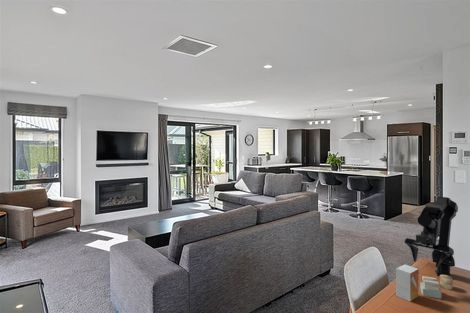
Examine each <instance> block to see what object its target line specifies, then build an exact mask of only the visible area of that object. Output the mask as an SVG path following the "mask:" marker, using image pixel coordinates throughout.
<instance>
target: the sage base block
mask: <svg viewBox="0 0 470 313" xmlns="http://www.w3.org/2000/svg"><path fill="white" fill-rule="evenodd" d="M419 286H420V287H419V288H420V292H421V294H422V296H424V297H429V298H434V299H440V300H442V291H441V287H439V291H436V290H430V289H425V288H424V286H423V283H422V282H421V281H420V283H419Z"/></svg>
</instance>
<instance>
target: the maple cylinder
mask: <svg viewBox="0 0 470 313" xmlns="http://www.w3.org/2000/svg"><path fill="white" fill-rule="evenodd" d="M453 280H454V279H453V276H452V277H450V276H447V275H440V276H439V288H440V289H441V288H442V289H444V290H449V291H450V290H453V289H454V288H453V285H454V284H453Z"/></svg>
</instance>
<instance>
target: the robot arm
mask: <svg viewBox="0 0 470 313" xmlns="http://www.w3.org/2000/svg"><path fill="white" fill-rule="evenodd" d="M458 211H459V206H458V204H457V203H456V202H455V201H453V200H452V199H451V198H450V197H447V196H446V197H445V196H438V197H437V199H436V200H435V202H433V203H432V204H428V205H425V207H423V208H422V211H421V212H420V213H419V216H418V218H417V223H418V224H419V226H421V227H422V231H421V232H420V233H419V234H415V239H414V238H408V237H407V238H405V239H404V244H406V245H407V247H409V248H410V251H411V255H412V260H413V262H415V263H416V262H417V259H418V255H419V248H418V247H422V248H425V249H432V252H431V256H432V257H431V258H432V263H435V267H436V269H435V270H434V272H435V274H436V276H437V277H440V275H447V276H450V277H452V278H453V275H452V274H451V268H452V267H456V261H455V257H454V252H455V251H454V249H453V248H452V247H450V240H451V228H452V221H453V220H454V218H455V217H456V216H457V213H458ZM439 221H440V226H439ZM438 230H439V231H438ZM438 233H439V235H438ZM437 240H438V243H437Z"/></svg>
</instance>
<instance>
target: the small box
mask: <svg viewBox="0 0 470 313" xmlns="http://www.w3.org/2000/svg"><path fill="white" fill-rule="evenodd" d="M395 272H396V273H395V274H396V275H395V277H396V278H395V285H396V286H395V288H396V289H395V293H396V294H395V295H396V297H398V298H400V299H402V300H405V301H408V302H412V301H413V300H415V299H417V298H418V297H419V268H416V267H414V266H411V265H408V264H405V263H404V264H403V265H400V266H399V267H396V270H395Z"/></svg>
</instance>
